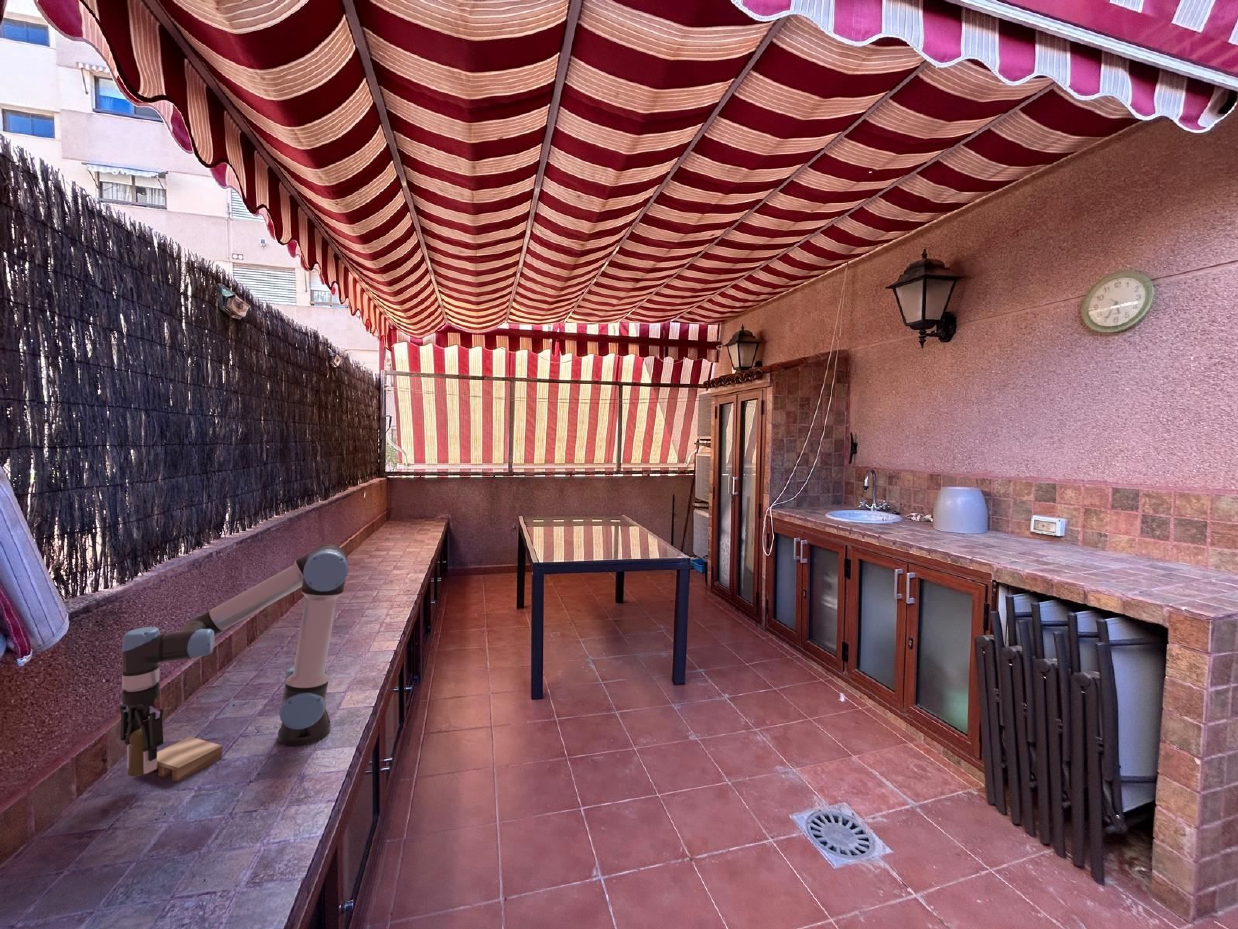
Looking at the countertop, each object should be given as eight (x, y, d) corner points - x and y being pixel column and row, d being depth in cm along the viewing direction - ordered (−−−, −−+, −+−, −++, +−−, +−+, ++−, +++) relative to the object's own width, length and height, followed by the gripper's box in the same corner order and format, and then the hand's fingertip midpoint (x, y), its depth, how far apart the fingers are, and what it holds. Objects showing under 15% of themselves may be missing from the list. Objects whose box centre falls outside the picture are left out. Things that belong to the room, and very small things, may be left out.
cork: (155, 760, 146) (154, 721, 146) (159, 768, 142) (159, 729, 142) (125, 770, 141) (125, 730, 141) (129, 779, 137) (129, 738, 137)
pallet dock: (222, 758, 157) (222, 745, 157) (178, 782, 145) (178, 768, 145) (190, 749, 161) (190, 736, 161) (144, 771, 149) (145, 757, 149)
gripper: (180, 685, 142) (181, 767, 142) (134, 675, 147) (135, 754, 148) (148, 697, 135) (149, 784, 135) (101, 686, 140) (102, 769, 141)
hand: (142, 768), depth 142 cm, fingers closed on cork, 6 cm apart
